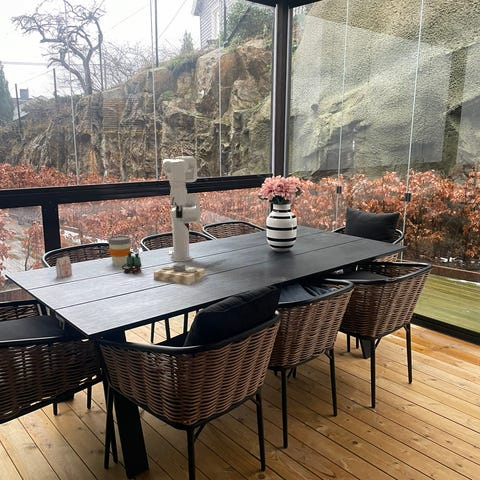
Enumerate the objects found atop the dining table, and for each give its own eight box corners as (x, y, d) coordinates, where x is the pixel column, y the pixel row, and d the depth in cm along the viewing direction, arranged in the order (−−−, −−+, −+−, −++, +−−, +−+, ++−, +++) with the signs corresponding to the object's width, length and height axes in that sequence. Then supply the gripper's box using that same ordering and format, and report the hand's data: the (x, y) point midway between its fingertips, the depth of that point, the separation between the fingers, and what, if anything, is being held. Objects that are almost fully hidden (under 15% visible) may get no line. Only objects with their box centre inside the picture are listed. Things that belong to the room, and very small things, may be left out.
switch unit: (154, 279, 249) (153, 271, 249) (171, 271, 264) (170, 264, 263) (189, 284, 241) (189, 276, 240) (204, 276, 255) (204, 268, 254)
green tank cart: (118, 256, 257) (128, 251, 266) (120, 275, 260) (130, 269, 269) (133, 258, 254) (142, 252, 263) (135, 276, 257) (144, 270, 266)
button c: (185, 279, 248) (185, 271, 247) (189, 276, 252) (189, 269, 251) (192, 280, 246) (192, 272, 246) (197, 277, 250) (196, 270, 249)
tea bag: (56, 276, 255) (55, 258, 253) (68, 273, 260) (66, 255, 258) (60, 277, 253) (59, 259, 251) (72, 275, 258) (70, 256, 256)
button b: (173, 272, 251) (173, 265, 250) (178, 270, 254) (178, 263, 254) (180, 273, 249) (180, 266, 248) (185, 271, 253) (185, 264, 252)
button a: (162, 275, 254) (162, 268, 253) (167, 273, 258) (166, 266, 257) (169, 276, 252) (169, 269, 251) (174, 274, 256) (173, 267, 255)
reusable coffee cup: (112, 266, 274) (110, 240, 271) (107, 261, 285) (105, 237, 282) (134, 264, 280) (132, 238, 277) (128, 259, 291) (127, 235, 288)
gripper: (179, 182, 266) (180, 215, 270) (164, 184, 253) (165, 219, 257) (191, 183, 263) (192, 216, 267) (176, 185, 250) (177, 220, 254)
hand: (179, 217), depth 262 cm, fingers closed
